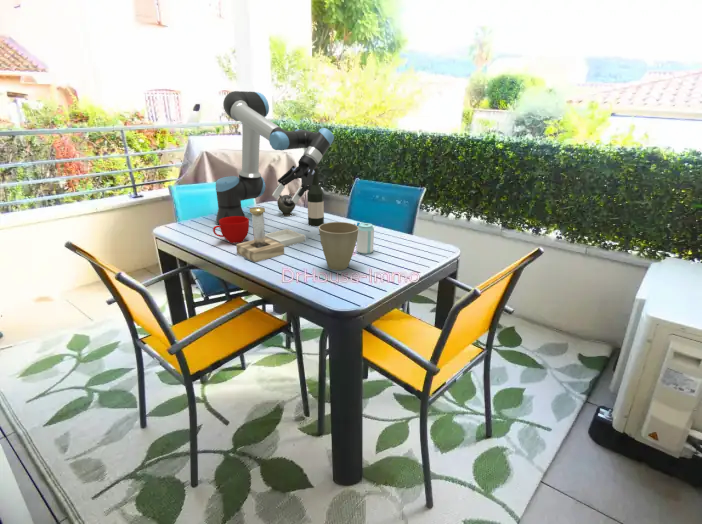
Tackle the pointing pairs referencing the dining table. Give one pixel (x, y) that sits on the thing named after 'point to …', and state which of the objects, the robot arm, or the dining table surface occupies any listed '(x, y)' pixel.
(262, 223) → the pin
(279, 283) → the dining table surface
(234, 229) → the ceramic cup
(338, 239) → the plant pot
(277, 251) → the socket block
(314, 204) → the wine bottle
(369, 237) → the can
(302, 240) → the tray
